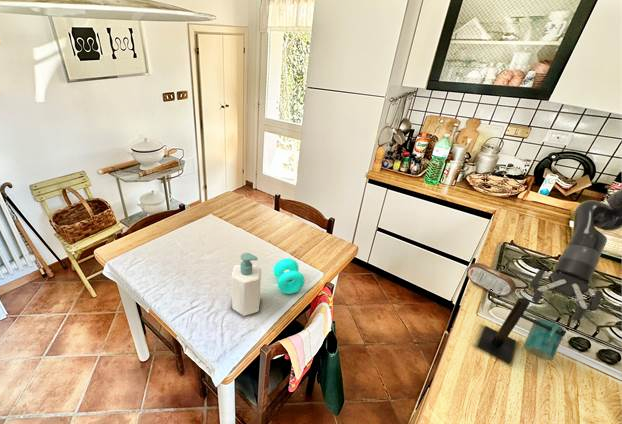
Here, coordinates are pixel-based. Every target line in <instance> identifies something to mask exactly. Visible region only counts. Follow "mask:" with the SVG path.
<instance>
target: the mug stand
mask: <svg viewBox="0 0 622 424" xmlns="http://www.w3.org/2000/svg"><path fill="white" fill-rule="evenodd" d="M530 304H531V302H530V301H529V300H528V299H526V298H524V297H519V298H518V300H517V301H516V303H515V304H514V305H513V307H512V309H511V311H510V312H509V313H508V315H507V317H506V318H505V320H504V322H503V323H502V325H501V326H500V328H499V329H498V331H497V330H495V329H493V328H492V327H489V326H487V325H485V326H484V327H483V330H482V333H481V335H480V338H479V340H478V343H477V346H476V347H477V348H479V349H480V350H483V351H484V352H486V353H487V354H490V355H491V356H493V357H495V358H497V359H499V360H501V361H503V362H504V363H506V364H508V365H509V364H510V363H511V361H512V357H513V353H514V350H515V346H516V344H517V343H516V342H517V340H515V339H514V338H511V337H510V334H511V333H512V331H513V330H514V328H515V327H516V325H517V323H518V322H519V321H520V319H521V318H522V319H524V320H526V321H527V322H530V323H532V324H533V323H534V324H537V325H539V326H541V327H543V328H545V329H548V330H550V331H551V330H552V327H550V326H548V325H545V324H543V323H541V322H539V321H536V320H535V319H534V318H532V317H530V316H527V315H525V314H524V313H525V311H526V310H527V308H528V307H529V306H530ZM556 334H559V335H561V336H563V337H565V335H566V334H567V331H566V330H565V329H564V330H562V331H559V330H556Z"/></svg>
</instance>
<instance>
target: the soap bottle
mask: <svg viewBox="0 0 622 424" xmlns="http://www.w3.org/2000/svg"><path fill="white" fill-rule="evenodd" d="M240 260H242V261H241V262H240V263H239V264H236V265H234V266H233V269H232V273H231V278H230V279H231V306H232V310H234V311H236V312H237V313H238V314H240V315H242V316H243V317H245V316H248V315H253V314H255V313H258V312H259V310H260V305H261V285H262V281H261V280H262V268H261V267H259V266H258V265H255V264H253V263H252V261H258V260H259V259H258V256H256V255H254V254H252V253H250V252H244V253H242V254H241V255H240Z"/></svg>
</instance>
